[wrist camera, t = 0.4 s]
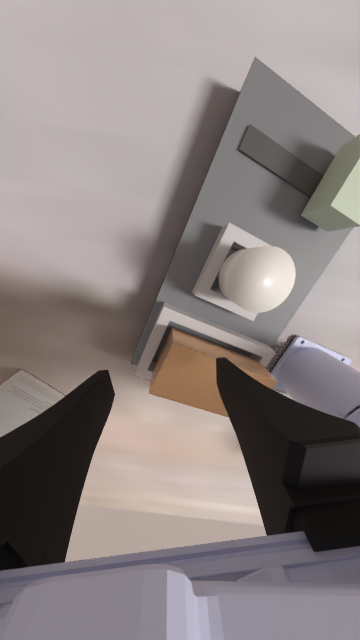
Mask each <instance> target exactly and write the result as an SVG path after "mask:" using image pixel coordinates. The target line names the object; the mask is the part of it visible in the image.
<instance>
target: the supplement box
mask: <svg viewBox="0 0 360 640" xmlns="http://www.w3.org/2000/svg"><path fill="white" fill-rule="evenodd" d="M64 397H65V396H64V395H63V394H61V393H60V392H58V391H56V390H55V389H53V388H52V387H50V386H48V385H47V384H45V383H44V382H42V381H40V380H39V379H37V378H35V377H34V376H32V375H31V374H29V373H27V372H25V371H24V370H20V371H18V372H17V373H15V374H14V375H13V376H11V377H10V378H9V379H7V380H6V381H5V382H3V383H2V384H1V385H0V437H2V436H3V435H5V434H7V433H9V432H11V431H12V430H14V429H16V428H17V427H19V426H21V425H23V424H24V423H26V422H28V421H30V420H31V419H33V418H34V417H36V416H38V415H39V414H41V413H42V412H44V411H45V410H47V409H48V408H50V407H51V406H53V405H54V404H55V403H57V402H58V401H60V400H61V399H62V398H64Z"/></svg>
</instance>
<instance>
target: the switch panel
mask: <svg viewBox="0 0 360 640" xmlns="http://www.w3.org/2000/svg"><path fill="white" fill-rule="evenodd" d="M354 138H355V136H354V135H352V134H351V133H350V132H349V131H347V130H346V129H345V128H344V127H342V126H341V125H340V124H339V123H337V122H336V121H335V120H334V119H332V118H331V117H330V116H329V115H327V114H326V113H325V112H324V111H322V110H321V109H320V108H319V107H317V106H316V105H315V104H314V103H312V102H311V101H310V100H309V99H307V98H306V97H305V96H304V95H302V94H301V93H300V92H299V91H297V90H296V89H295V88H294V87H292V86H291V85H290V84H289V83H287V82H286V81H285V80H284V79H282V78H281V77H280V76H279V75H277V74H276V73H275V72H274V71H272V70H271V69H270V68H269V67H267V66H266V65H265V64H264V63H262V62H261V61H260V60H259V59H257V58H256V57H255V58H254V61H253V63H252V65H251V68H250V70H249V72H248V75H247V77H246V79H245V82H244V84H243V86H242V89H241V91H240V94H239V96H238V98H237V101H236V103H235V106H234V108H233V111H232V113H231V116H230V118H229V121H228V123H227V126H226V128H225V130H224V133H223V135H222V138H221V140H220V143H219V145H218V148H217V150H216V153H215V155H214V158H213V160H212V162H211V165H210V167H209V170H208V172H207V175H206V177H205V180H204V182H203V185H202V187H201V190H200V192H199V194H198V197H197V199H196V202H195V204H194V207H193V209H192V212H191V214H190V217H189V219H188V222H187V224H186V226H185V229H184V231H183V234H182V236H181V239H180V241H179V244H178V246H177V249H176V251H175V254H174V256H173V258H172V261H171V263H170V266H169V268H168V271H167V273H166V276H165V278H164V281H163V283H162V286H161V288H160V291H159V293H158V295H157V298H156V300H155V303H154V305H153V308H152V310H151V313H150V315H149V318H148V320H147V323H146V325H145V327H144V330H143V332H142V335H141V337H140V340H139V342H138V345H137V347H136V350H135V352H134V355H133V358H132V360H131V364H134V365H137V369H136V372H135V375H136V376H139V377H142V378H145V379H148V380H151V376H152V370H153V368H154V366H155V364H156V362H157V360H158V357H159V355H160V353H161V351H162V349H163V346H164V344H165V342H166V340H167V338H168V336H169V333H170V331H171V329H172V328H175V329H177V330H180V331H183V332H185V333H188V334H190V335H193V336H196V337H198V338H201V339H203V340H206V341H208V342H211V343H214V344H216V345H219V346H221V347H224V348H227V349H229V350H232V351H234V352H237V353H239V354H242V355H245V356H247V357H250V358H252V359H255V360H258V361H260V362H261V363H262V365H263V366H264V367H265V368H266V367H267V365H268V364H269V362H270V361H271V359H272V358H273V356H274V355H275V354H276V352H275V351H274V350H273V349H272V347H273V345H274V344H275V342H276V341H277V339H278V338H279V336H280V335H281V333H282V332H283V330H284V329H285V327H286V326H287V324H288V323H289V322H290V320H291V319H292V317H293V316H294V314H295V313H296V311H297V310H298V308H299V307H300V305H301V304H302V302H303V301H304V299H305V298H306V296H307V295H308V293H309V292H310V291H311V289H312V288H313V286H314V285H315V283H316V282H317V280H318V279H319V277H320V276H321V274H322V273H323V271H324V270H325V268H326V267H327V265H328V264H329V263H330V261H331V260H332V258H333V257H334V255H335V254H336V252H337V251H338V249H339V248H340V246H341V245H342V243H343V242H344V240H345V239H346V237H347V236H348V235H349V233H350V232H351V230H352V229H353V227H352V228H346V229H340V230H334V231H329V232H327V231H325V230H323V229H322V228H320V227H319V226H317V225H315V224H314V223H312V222H311V221H309V220H307V219H306V218H304V217H303V216H301V214H302V212H303V211H304V209H305V207H306V205H307V204H308V202H309V200H310V199H311V197H312V195H313V193H314V192H315V190H316V188H317V187H318V185H319V183H320V181H321V180H322V178H323V176H324V175H325V173H326V171H327V169H328V168H329V166H330V164H331V162H332V161H333V159H334V157H335V156H336V154H337V152H338V150H339V149H340V147H341V146H343V145H344V144H346V143H348V142H349V141H351V140H352V139H354ZM262 246H275V247H279V248H281V249H283V250H284V251H286V252H287V253H288V254H289V255H290V257H291V258H292V260H293V262H294V265H295V272H296V275H295V282H294V285H293V288H292V290H291V292H290V294H289V295H288V297H287V298H286V299H285V300H284V301H283V302H282V303H281V304H280V305H279V306H277V307H276V308H274V309H272V310H270V311H267V312H262V313H254V312H249V311H247V310H245V309H243V308H241V307H240V306H238V305H237V304H235V303H234V302H232V301H231V300H229V299H228V298H226V297H225V296H224V294H223V293H222V291H221V289H220V286H219V272H220V269H221V267H222V265H223V263H224V262H225V260H226V259H227V258H228V257H229V256H230V255H231V254H233V253H234V252H236V251H239V250H242V249H248V248H255V247H262Z"/></svg>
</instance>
